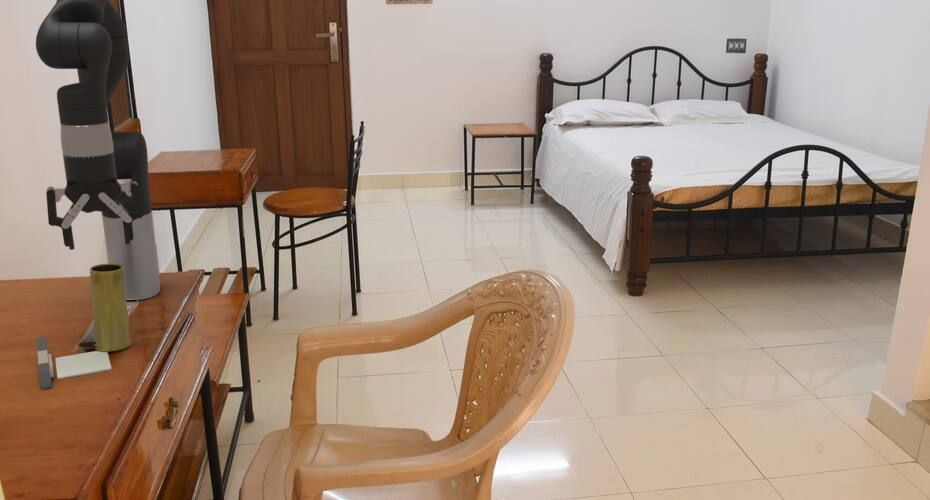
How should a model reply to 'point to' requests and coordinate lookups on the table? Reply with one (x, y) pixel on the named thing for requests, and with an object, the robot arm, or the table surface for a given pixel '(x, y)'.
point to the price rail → (44, 363)
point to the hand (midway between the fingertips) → (100, 245)
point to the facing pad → (82, 364)
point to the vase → (109, 308)
